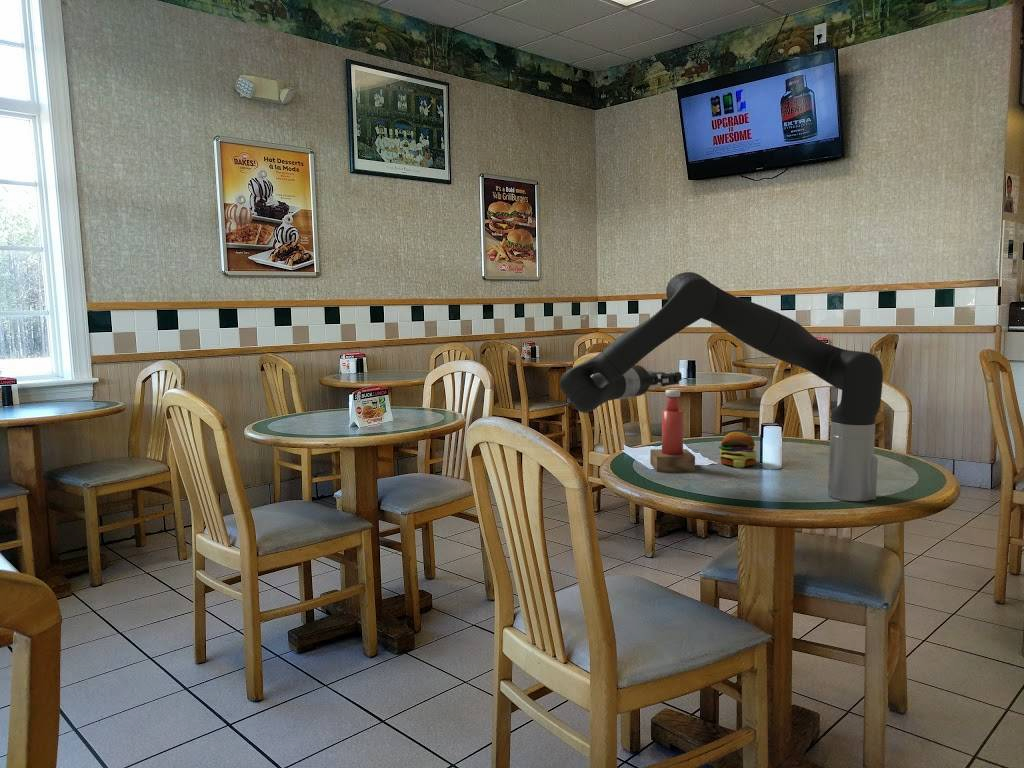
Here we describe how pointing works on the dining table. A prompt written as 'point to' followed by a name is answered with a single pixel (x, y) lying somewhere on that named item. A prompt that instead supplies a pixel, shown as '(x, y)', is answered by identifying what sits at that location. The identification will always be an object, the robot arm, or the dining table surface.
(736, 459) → the cheeseburger
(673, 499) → the dining table surface
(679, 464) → the walnut block
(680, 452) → the ketchup bottle
